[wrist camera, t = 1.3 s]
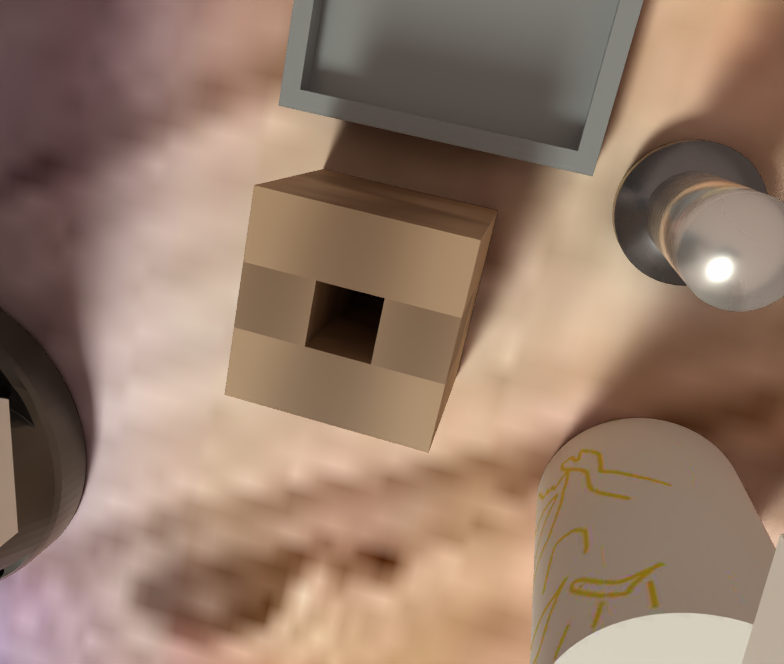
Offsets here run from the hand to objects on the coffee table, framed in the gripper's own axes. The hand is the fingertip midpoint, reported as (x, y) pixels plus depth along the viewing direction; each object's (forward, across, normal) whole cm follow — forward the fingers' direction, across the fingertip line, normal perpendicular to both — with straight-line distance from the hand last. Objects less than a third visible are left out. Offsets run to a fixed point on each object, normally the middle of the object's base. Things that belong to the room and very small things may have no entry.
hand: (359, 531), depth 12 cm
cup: (+17, +8, -8) cm, 21 cm away
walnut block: (+18, -3, 0) cm, 18 cm away
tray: (+18, -1, +11) cm, 21 cm away
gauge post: (+17, +8, +4) cm, 19 cm away
